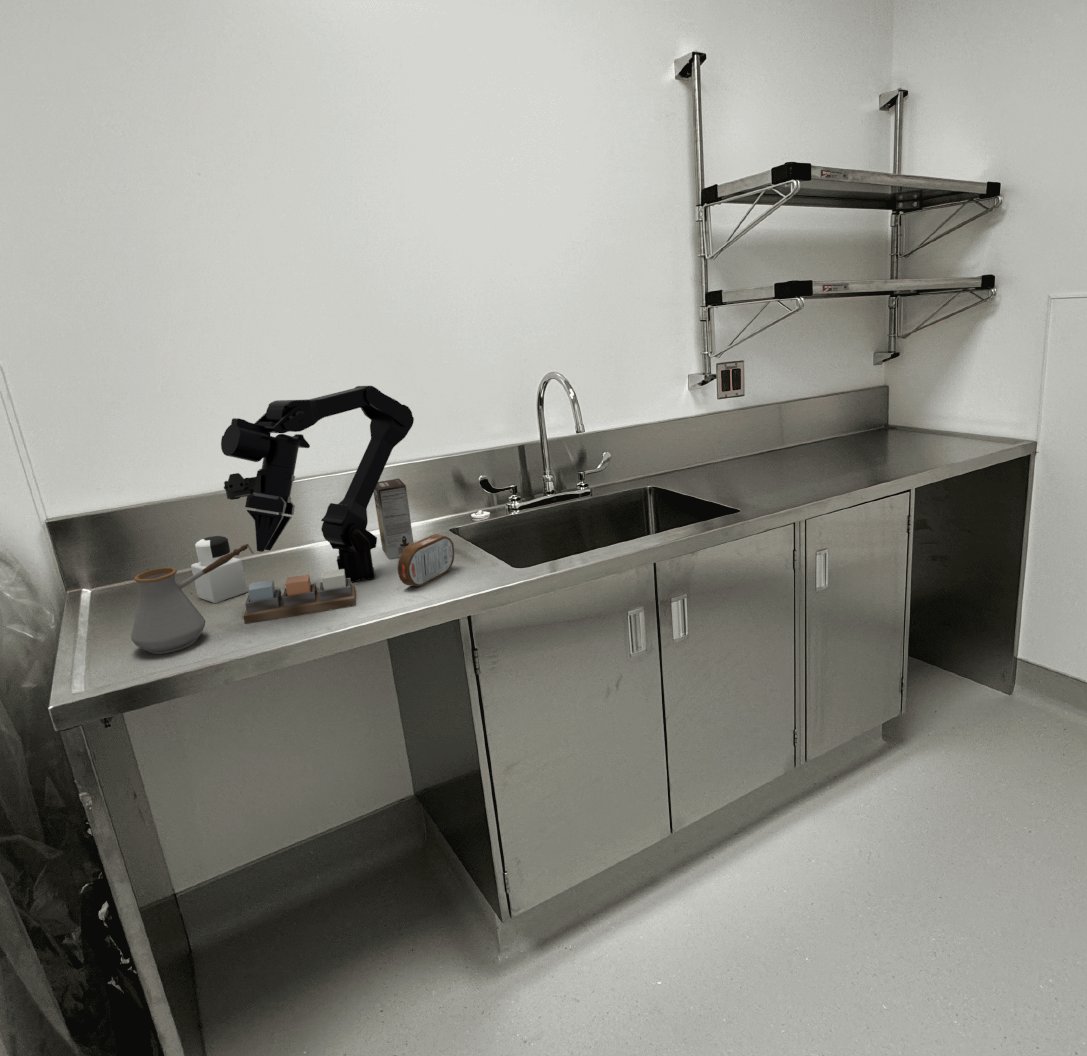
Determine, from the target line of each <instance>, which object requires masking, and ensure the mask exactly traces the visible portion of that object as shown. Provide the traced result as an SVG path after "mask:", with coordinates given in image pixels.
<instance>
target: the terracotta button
mask: <svg viewBox="0 0 1087 1056" xmlns="http://www.w3.org/2000/svg"><path fill="white" fill-rule="evenodd" d="M310 577H311V576H310V573H309V574H303V575H302V574H301V575H296V576H295V575H294V576H289V577H286V582H285V584H284V585H285V588H286V590H287V596H291V595H297V594H304V593H310V592H311V591H312V587H311V584H312V583H311V578H310Z"/></svg>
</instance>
